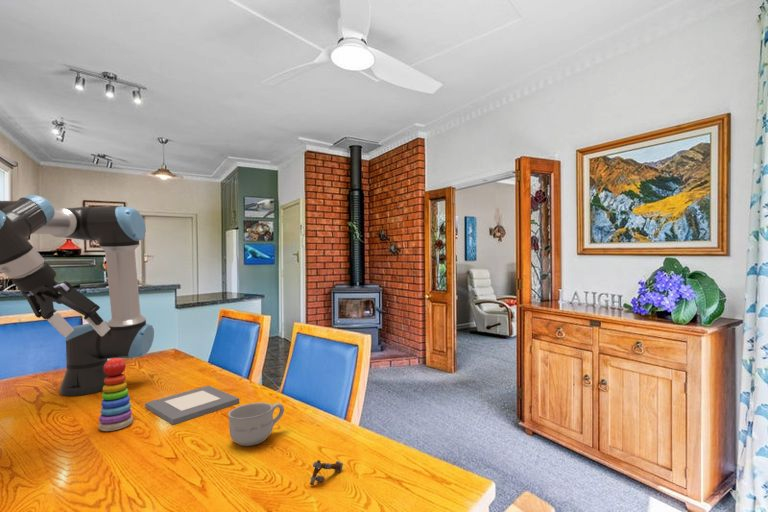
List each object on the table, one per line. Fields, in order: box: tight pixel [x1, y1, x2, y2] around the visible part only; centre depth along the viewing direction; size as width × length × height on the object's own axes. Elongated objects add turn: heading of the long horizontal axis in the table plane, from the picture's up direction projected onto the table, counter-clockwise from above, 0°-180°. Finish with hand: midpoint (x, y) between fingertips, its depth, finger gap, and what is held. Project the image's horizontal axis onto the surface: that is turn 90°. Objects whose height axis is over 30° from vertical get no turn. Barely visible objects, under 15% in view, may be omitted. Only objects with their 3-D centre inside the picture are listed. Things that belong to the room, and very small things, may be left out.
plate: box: [144, 385, 240, 426], centre depth 121 cm, size 20×20×2 cm
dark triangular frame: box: [309, 459, 344, 486], centre depth 80 cm, size 2×8×4 cm, turn 141°
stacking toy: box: [98, 358, 134, 432], centre depth 107 cm, size 8×8×19 cm
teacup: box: [227, 402, 285, 447], centre depth 98 cm, size 14×11×8 cm
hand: (87, 333), depth 103 cm, fingers open, 13 cm apart
